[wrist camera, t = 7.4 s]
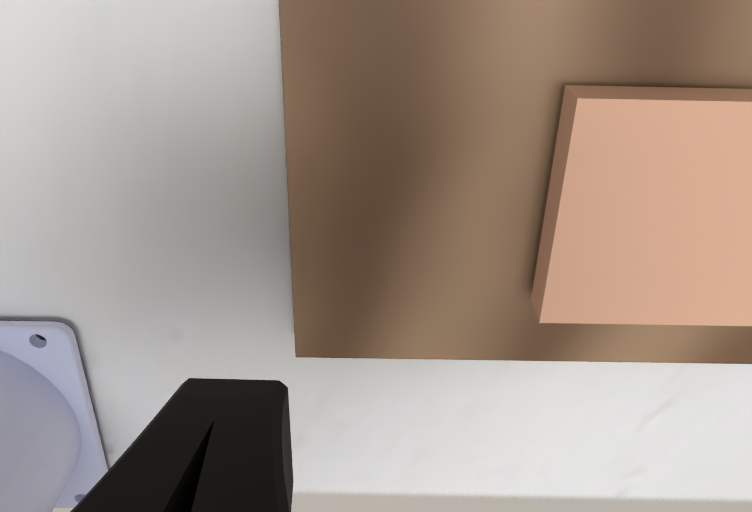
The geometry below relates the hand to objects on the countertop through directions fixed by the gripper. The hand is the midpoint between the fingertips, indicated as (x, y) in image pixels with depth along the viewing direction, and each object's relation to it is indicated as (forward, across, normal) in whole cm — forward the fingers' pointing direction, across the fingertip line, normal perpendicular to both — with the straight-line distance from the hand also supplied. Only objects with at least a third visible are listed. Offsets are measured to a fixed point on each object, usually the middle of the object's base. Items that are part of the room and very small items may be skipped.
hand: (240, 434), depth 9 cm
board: (+10, -7, 0) cm, 13 cm away
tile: (+8, -6, 0) cm, 10 cm away
